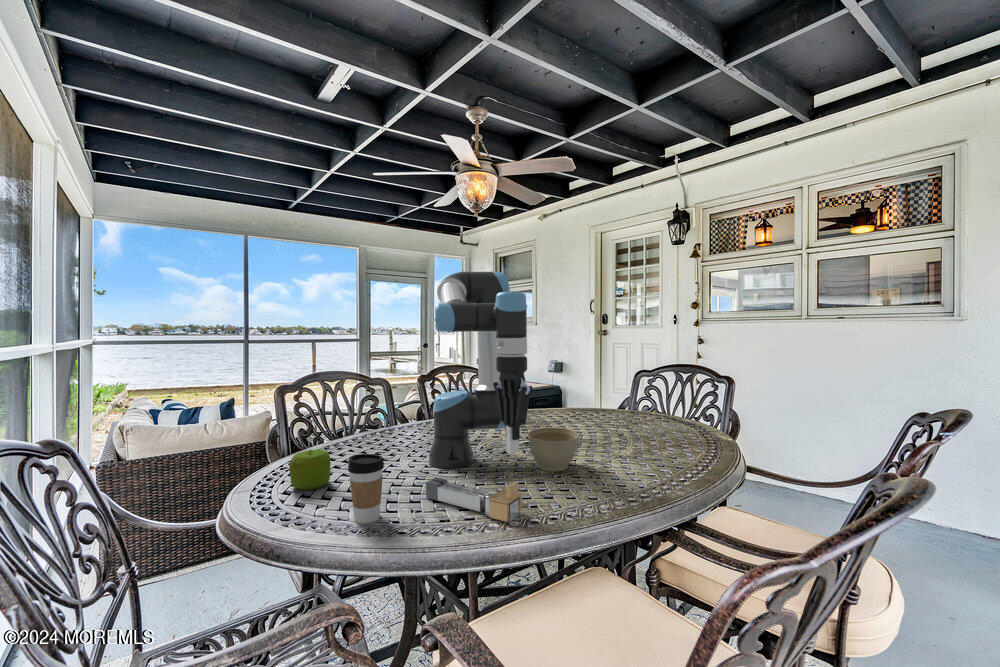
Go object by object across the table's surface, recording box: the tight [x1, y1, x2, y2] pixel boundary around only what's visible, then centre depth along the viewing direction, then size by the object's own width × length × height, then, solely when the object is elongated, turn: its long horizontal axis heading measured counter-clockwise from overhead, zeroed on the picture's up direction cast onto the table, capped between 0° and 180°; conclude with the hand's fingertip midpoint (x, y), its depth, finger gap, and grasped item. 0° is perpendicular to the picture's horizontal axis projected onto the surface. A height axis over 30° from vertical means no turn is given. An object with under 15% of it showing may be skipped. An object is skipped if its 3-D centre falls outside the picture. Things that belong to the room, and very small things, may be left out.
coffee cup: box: [347, 453, 385, 524], centre depth 107 cm, size 8×8×15 cm
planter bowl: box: [527, 427, 579, 472], centre depth 143 cm, size 16×16×11 cm
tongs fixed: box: [425, 479, 520, 522], centre depth 114 cm, size 26×4×5 cm, turn 59°
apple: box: [288, 448, 332, 491], centre depth 128 cm, size 11×11×11 cm
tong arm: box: [431, 476, 490, 509], centre depth 117 cm, size 17×2×4 cm, turn 59°
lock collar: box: [488, 481, 522, 523], centre depth 108 cm, size 5×7×8 cm
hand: (512, 452), depth 108 cm, fingers closed
